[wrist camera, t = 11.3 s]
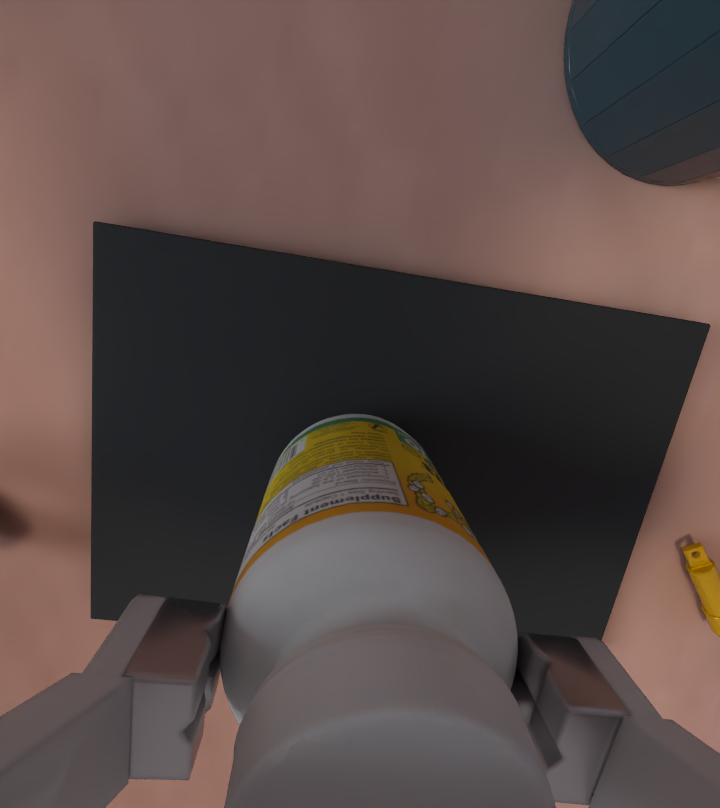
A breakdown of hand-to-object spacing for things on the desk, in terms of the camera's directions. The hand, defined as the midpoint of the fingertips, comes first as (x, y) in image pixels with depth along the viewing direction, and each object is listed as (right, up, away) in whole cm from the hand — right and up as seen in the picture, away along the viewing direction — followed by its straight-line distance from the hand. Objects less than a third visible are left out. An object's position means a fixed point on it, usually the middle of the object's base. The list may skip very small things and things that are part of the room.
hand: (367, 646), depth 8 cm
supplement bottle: (0, +2, +7) cm, 7 cm away
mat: (+1, +2, +8) cm, 8 cm away
